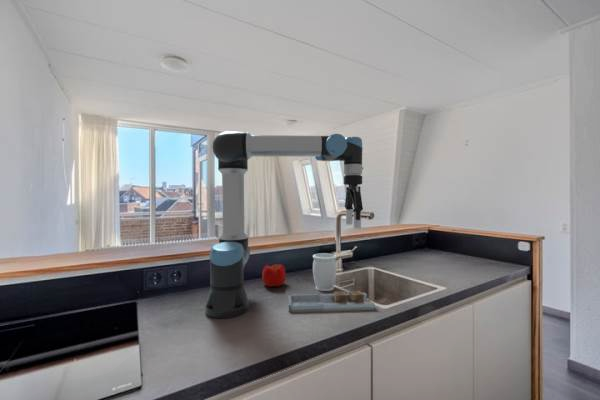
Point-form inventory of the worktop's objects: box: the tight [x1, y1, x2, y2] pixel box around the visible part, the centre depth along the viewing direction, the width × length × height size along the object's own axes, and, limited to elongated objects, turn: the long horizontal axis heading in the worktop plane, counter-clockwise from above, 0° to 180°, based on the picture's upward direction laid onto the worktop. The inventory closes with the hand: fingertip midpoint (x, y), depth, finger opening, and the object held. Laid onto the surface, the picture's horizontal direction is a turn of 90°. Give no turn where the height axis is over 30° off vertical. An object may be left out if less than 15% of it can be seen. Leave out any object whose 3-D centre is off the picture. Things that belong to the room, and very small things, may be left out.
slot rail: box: [287, 292, 376, 313], centre depth 102 cm, size 30×11×3 cm, turn 93°
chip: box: [333, 290, 347, 303], centre depth 102 cm, size 4×4×4 cm
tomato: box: [261, 263, 287, 288], centre depth 127 cm, size 11×12×9 cm
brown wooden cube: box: [348, 290, 364, 302], centre depth 103 cm, size 4×4×4 cm
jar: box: [312, 252, 338, 292], centre depth 120 cm, size 11×10×15 cm
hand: (352, 226), depth 116 cm, fingers open, 13 cm apart
